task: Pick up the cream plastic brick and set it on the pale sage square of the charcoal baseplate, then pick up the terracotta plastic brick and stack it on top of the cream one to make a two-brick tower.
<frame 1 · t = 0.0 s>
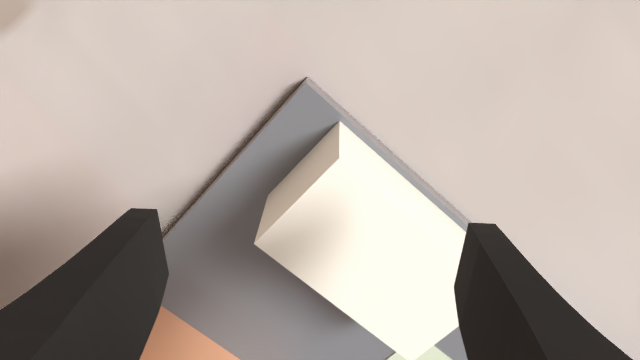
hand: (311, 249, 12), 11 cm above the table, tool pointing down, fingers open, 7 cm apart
baseplate: (366, 358, 27), on the table
cream brick: (372, 217, 23), point 1 cm above the table, touching baseplate
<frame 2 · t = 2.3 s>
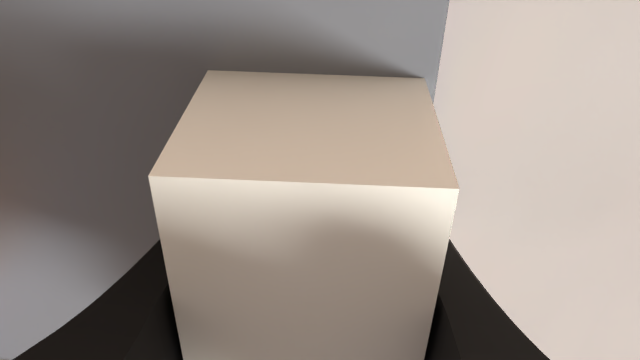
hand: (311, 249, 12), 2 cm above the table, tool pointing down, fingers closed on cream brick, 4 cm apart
baseplate: (115, 339, 17), on the table
cream brick: (312, 225, 13), point 1 cm above the table, touching baseplate, gripper
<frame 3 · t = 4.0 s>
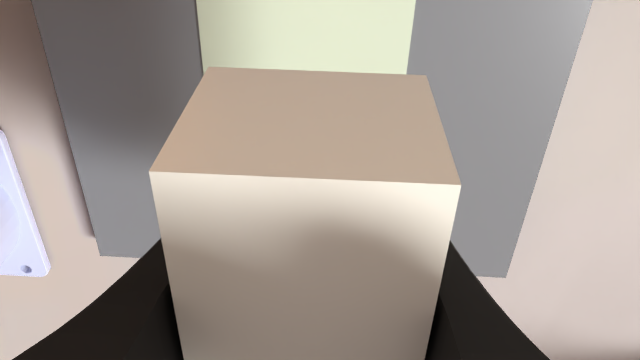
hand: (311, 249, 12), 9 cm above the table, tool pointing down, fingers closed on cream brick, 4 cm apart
cream brick: (313, 222, 13), point 8 cm above the table, touching gripper
when the fingers open (3 cm above the table, at t = 5.8 s): cream brick stays where it is, resting on baseplate.
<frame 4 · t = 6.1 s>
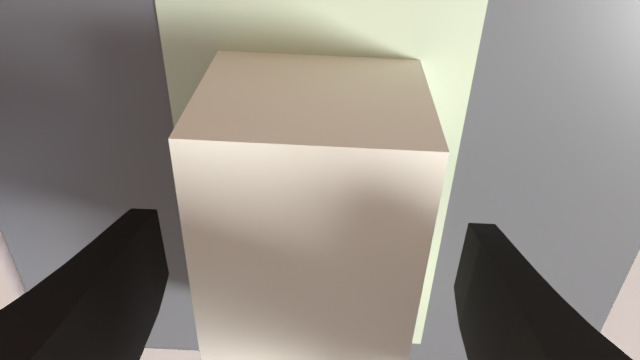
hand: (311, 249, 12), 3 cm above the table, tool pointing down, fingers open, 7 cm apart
cream brick: (314, 200, 14), point 1 cm above the table, touching baseplate
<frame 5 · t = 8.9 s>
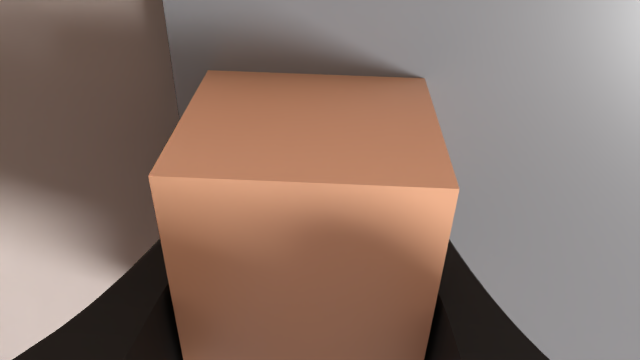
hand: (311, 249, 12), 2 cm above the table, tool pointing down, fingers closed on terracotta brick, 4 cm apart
baseplate: (495, 357, 17), on the table
terracotta brick: (312, 225, 13), point 1 cm above the table, touching baseplate, gripper
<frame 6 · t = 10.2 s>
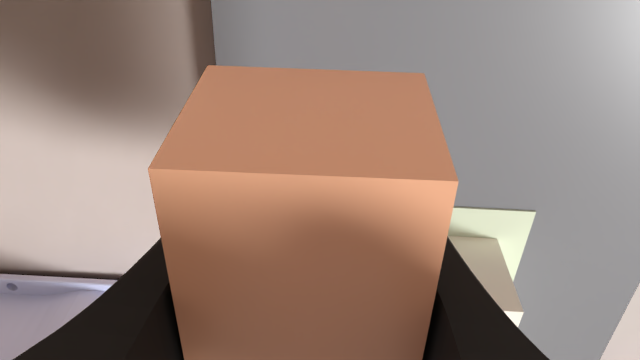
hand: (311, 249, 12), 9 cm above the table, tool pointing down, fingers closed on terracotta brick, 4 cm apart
baseplate: (444, 191, 22), on the table
cream brick: (428, 302, 24), point 1 cm above the table, touching baseplate
terracotta brick: (312, 220, 13), point 8 cm above the table, touching gripper
when the fingers open (7 cm above the table, at t = 11.8 s): terracotta brick stays where it is, resting on cream brick.
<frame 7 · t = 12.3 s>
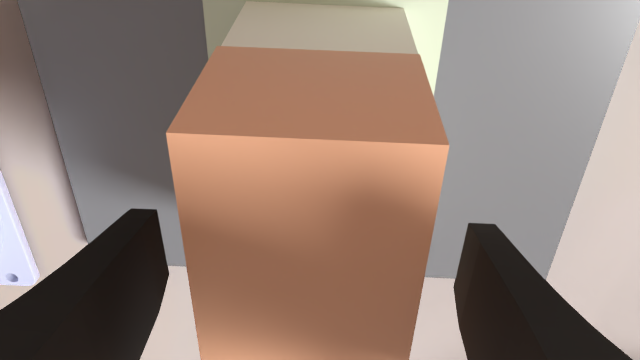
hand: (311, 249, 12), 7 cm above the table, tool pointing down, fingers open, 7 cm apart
cream brick: (320, 128, 17), point 1 cm above the table, touching baseplate, terracotta brick
terracotta brick: (314, 196, 14), point 5 cm above the table, touching cream brick
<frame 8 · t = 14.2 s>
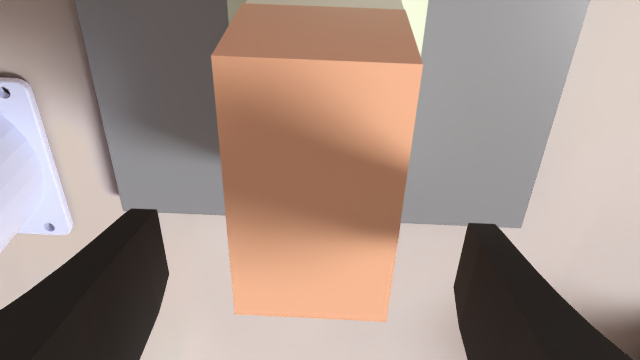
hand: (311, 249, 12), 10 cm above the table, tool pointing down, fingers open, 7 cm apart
cream brick: (323, 86, 20), point 1 cm above the table, touching baseplate, terracotta brick
terracotta brick: (319, 134, 17), point 5 cm above the table, touching cream brick
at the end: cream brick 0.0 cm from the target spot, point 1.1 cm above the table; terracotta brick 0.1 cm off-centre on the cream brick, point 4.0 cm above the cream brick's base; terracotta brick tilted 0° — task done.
